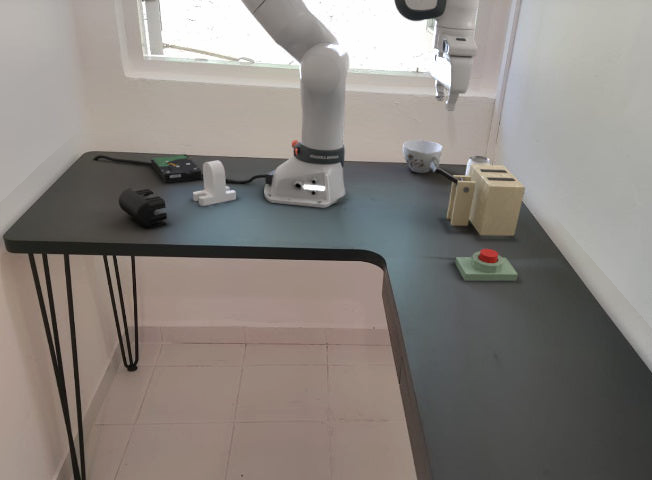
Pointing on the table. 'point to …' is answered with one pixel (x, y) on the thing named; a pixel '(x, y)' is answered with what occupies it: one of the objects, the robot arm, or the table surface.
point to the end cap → (143, 207)
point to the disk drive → (176, 168)
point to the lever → (444, 173)
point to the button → (488, 256)
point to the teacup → (421, 154)
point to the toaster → (495, 200)
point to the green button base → (485, 269)
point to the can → (476, 162)
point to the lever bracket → (461, 201)
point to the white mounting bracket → (214, 185)
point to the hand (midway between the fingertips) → (444, 105)
